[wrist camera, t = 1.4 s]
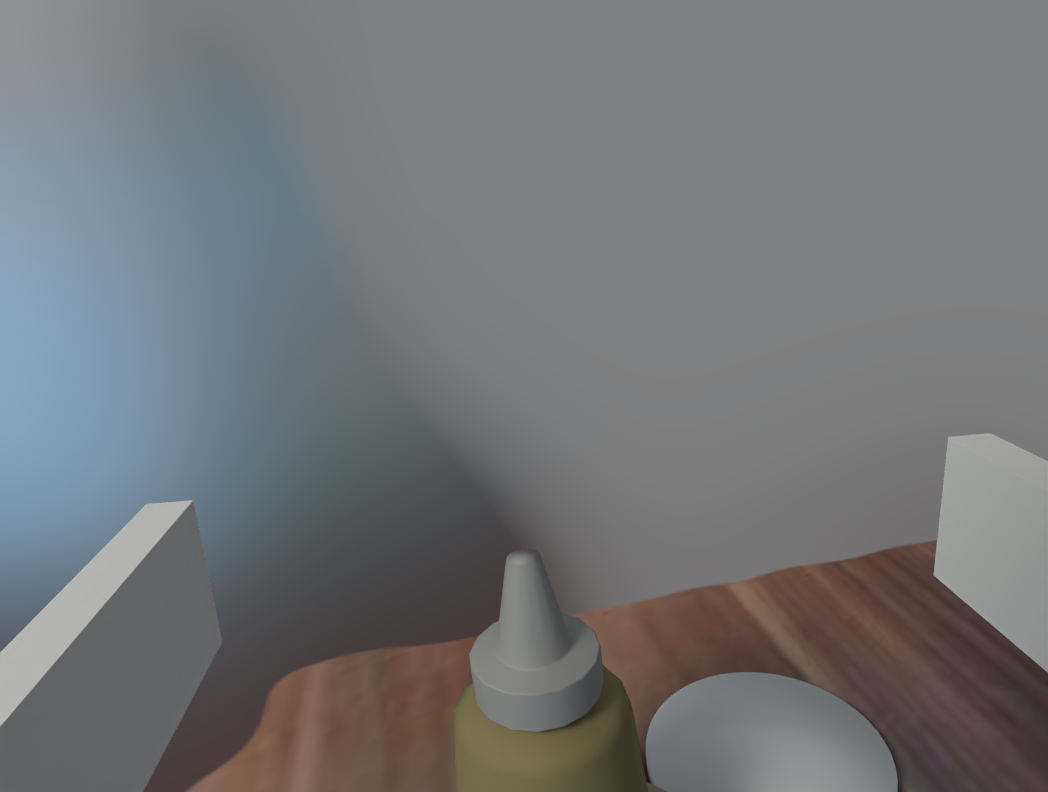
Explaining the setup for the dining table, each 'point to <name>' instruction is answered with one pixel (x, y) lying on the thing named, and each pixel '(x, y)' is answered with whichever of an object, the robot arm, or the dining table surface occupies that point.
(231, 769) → the dining table surface
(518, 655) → the squeeze bottle
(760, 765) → the ceramic coaster
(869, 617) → the dining table surface
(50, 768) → the robot arm
